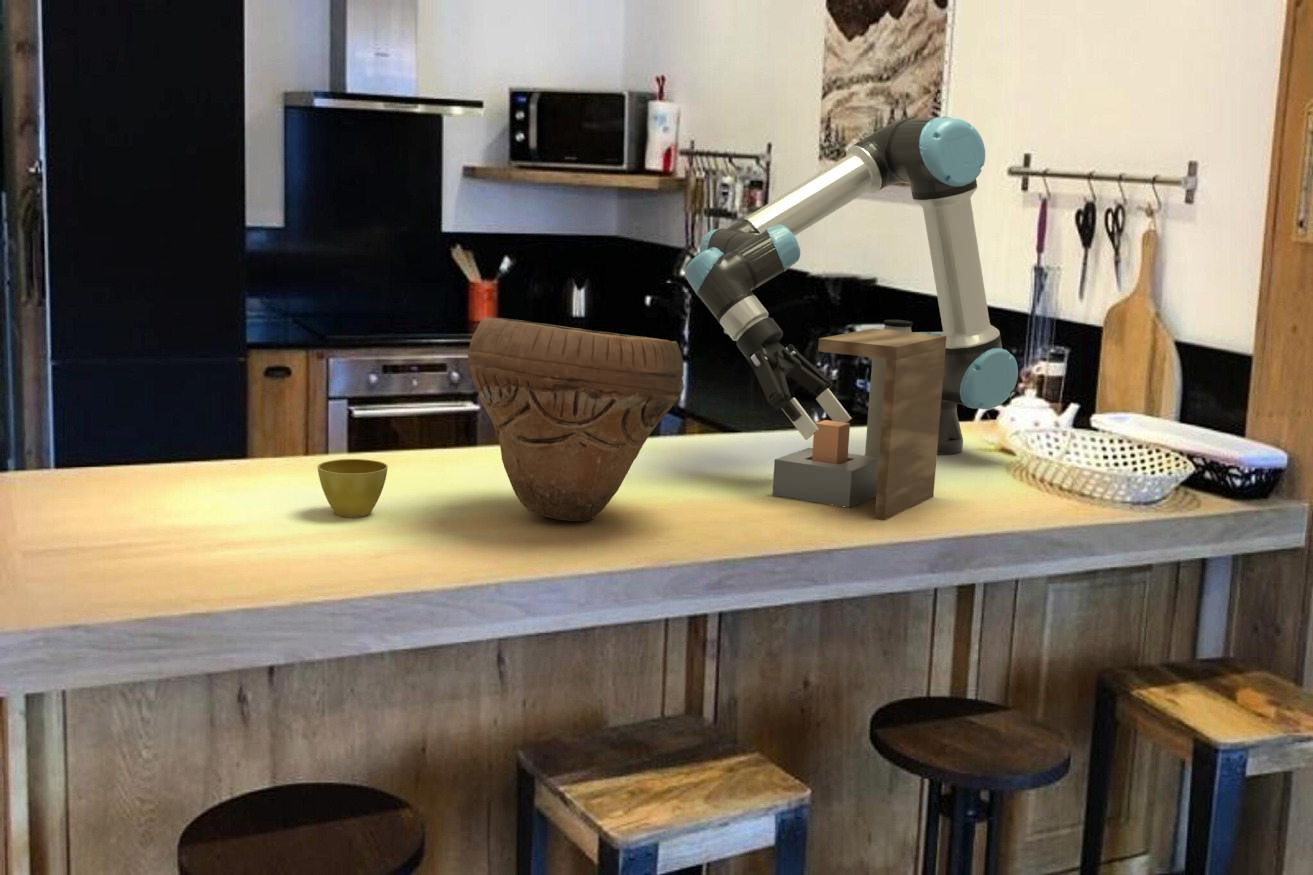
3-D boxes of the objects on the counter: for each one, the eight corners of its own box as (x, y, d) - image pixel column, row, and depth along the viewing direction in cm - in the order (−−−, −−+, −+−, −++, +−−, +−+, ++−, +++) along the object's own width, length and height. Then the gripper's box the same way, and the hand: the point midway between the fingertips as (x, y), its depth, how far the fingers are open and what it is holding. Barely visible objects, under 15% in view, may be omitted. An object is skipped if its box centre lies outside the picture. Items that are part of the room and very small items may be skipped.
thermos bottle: (862, 472, 265) (873, 316, 259) (907, 475, 264) (919, 319, 259) (864, 482, 257) (876, 321, 252) (910, 485, 256) (923, 323, 251)
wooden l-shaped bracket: (807, 507, 235) (818, 338, 230) (861, 484, 254) (872, 328, 249) (884, 520, 229) (897, 346, 224) (933, 496, 248) (946, 336, 243)
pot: (721, 521, 224) (732, 323, 218) (569, 554, 201) (577, 334, 195) (573, 483, 245) (580, 302, 240) (420, 509, 222) (424, 310, 217)
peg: (809, 494, 245) (814, 423, 243) (820, 490, 249) (825, 419, 246) (833, 498, 243) (839, 426, 240) (845, 494, 246) (850, 423, 244)
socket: (772, 495, 243) (774, 459, 242) (807, 481, 255) (809, 447, 254) (848, 507, 236) (851, 471, 235) (881, 493, 248) (883, 458, 247)
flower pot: (327, 523, 211) (327, 474, 210) (309, 507, 220) (309, 460, 219) (396, 518, 216) (396, 470, 214) (375, 503, 225) (376, 457, 223)
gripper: (769, 337, 260) (842, 432, 256) (702, 350, 239) (781, 453, 235) (799, 310, 257) (873, 405, 252) (733, 320, 235) (814, 425, 231)
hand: (829, 429), depth 243 cm, fingers open, 13 cm apart
